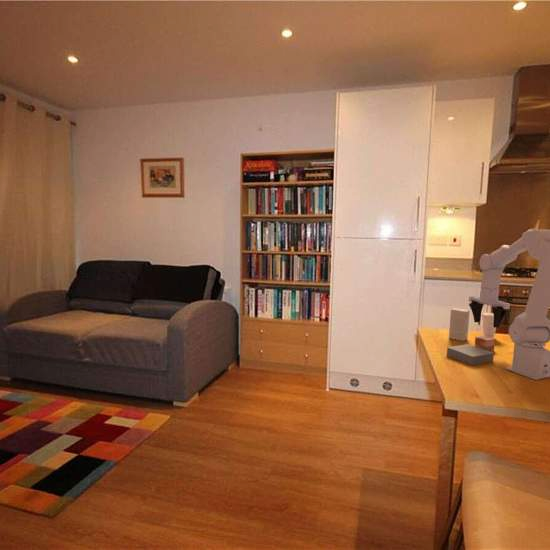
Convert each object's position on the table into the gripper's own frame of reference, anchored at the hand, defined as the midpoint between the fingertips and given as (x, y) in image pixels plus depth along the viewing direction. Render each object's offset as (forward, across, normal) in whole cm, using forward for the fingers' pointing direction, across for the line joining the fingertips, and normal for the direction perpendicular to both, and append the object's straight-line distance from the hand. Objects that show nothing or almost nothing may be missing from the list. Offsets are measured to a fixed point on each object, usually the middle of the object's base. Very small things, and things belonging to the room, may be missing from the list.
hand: (486, 324), depth 136 cm
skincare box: (+10, +13, -2) cm, 16 cm away
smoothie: (+10, +10, -16) cm, 21 cm away
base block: (+9, -5, +14) cm, 18 cm away
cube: (+10, 0, 0) cm, 10 cm away
